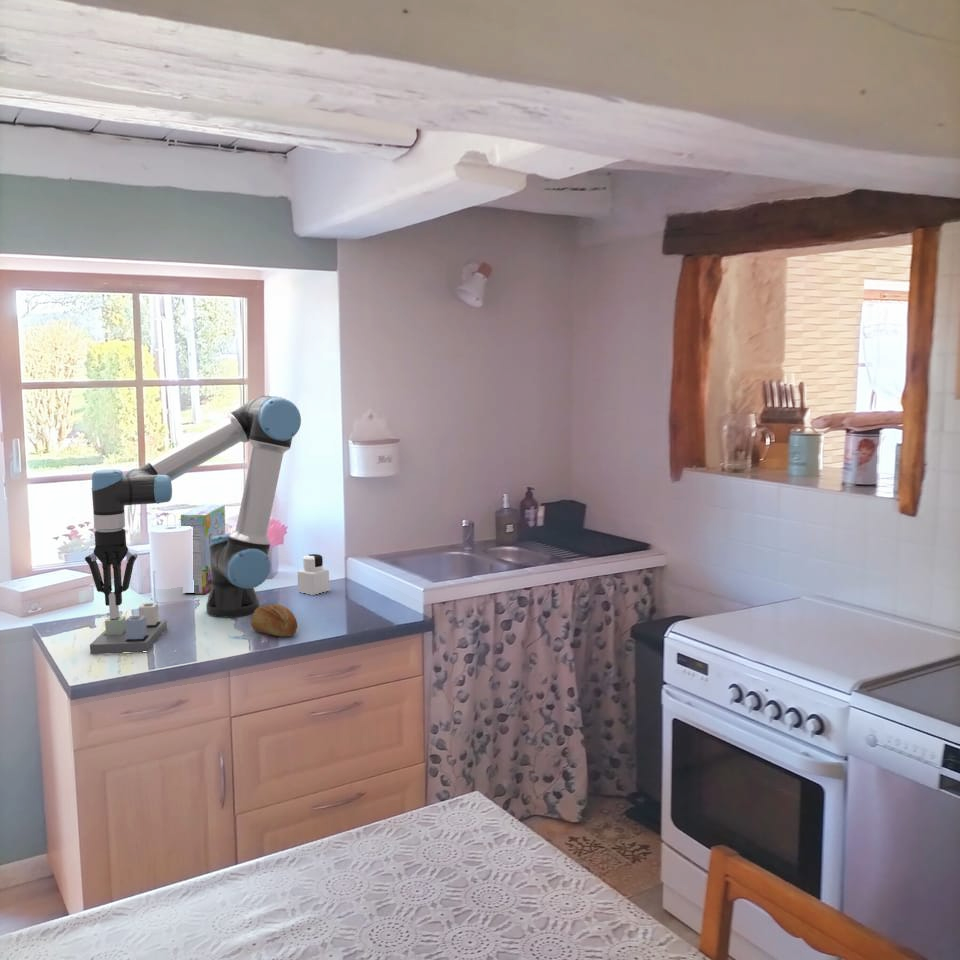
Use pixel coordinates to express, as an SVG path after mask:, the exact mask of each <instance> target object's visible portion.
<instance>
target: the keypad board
mask: <svg viewBox="0 0 960 960" xmlns="http://www.w3.org/2000/svg"><path fill="white" fill-rule="evenodd" d="M167 623H168V622H167V619H165V620H163V619H161V620H160V619H159V621H158V622H157V623H156V624H155V625H146V627H147V635H146V636H145V637H144V638H143V639H127V638H126V632H125V633H124V635H106V629H105V630H103V632H102V633H100V634H99V635H98V637H96V638H95V639H94V640H93V641H92V642H91V643H90V644H89V652H90V654H89V655H105V653H113V654H124V653H123V652H143V651H148V650H149V649H150V650H151V648H152V647H153V646H154V645H155V644H156V643H157V641H158V640H159V639H160V638H161V637H162V635H163V634H164V633H165V632H166V631H167V630H168V626H167ZM165 630H166V631H165ZM164 631H165V632H164ZM163 632H164V633H163ZM162 633H163V634H162ZM160 636H161V637H160ZM159 637H160V638H159ZM158 638H159V639H158ZM155 642H156V643H155ZM154 643H155V644H154ZM153 644H154V645H153ZM152 645H153V646H152ZM150 650H149V651H150ZM149 651H148V652H149Z"/></svg>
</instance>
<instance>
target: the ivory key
mask: <svg viewBox="0 0 960 960" xmlns="http://www.w3.org/2000/svg"><path fill="white" fill-rule="evenodd" d="M159 614H160V613H159V603H158V602H148V603H147V602H145V603H142V604H140V606H139V607H138V616H146V625H155V624H156V623H157V622H158V621H159V620H160V617H159V616H160V615H159Z"/></svg>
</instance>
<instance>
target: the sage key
mask: <svg viewBox="0 0 960 960" xmlns="http://www.w3.org/2000/svg"><path fill="white" fill-rule="evenodd" d="M125 620H126V616H125V615H124V616H121V615H119V616H118V617H117V618H116V619H110V616H109V617H108V618H107V619H106V620H105V621H104V624H105V625H104V626H105V627H104V628H105V630H106V635H124V633H125V632H126V621H125Z"/></svg>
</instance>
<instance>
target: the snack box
mask: <svg viewBox="0 0 960 960" xmlns="http://www.w3.org/2000/svg"><path fill="white" fill-rule="evenodd" d="M225 513H226V508H225V505H224V504H201V505H199V506H196V507H194V508H192V509H190V510H188V511H186V512H183V513H181V514H180V527H181V526H191V527H193V580H194V593H195V594H196V595H206V594H209V593H210V590H211V586H212V583H211V563H210V549H209V546H210V539H211V537H213V536H216V535H223V534H226V514H225ZM195 594H194V595H195Z"/></svg>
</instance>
